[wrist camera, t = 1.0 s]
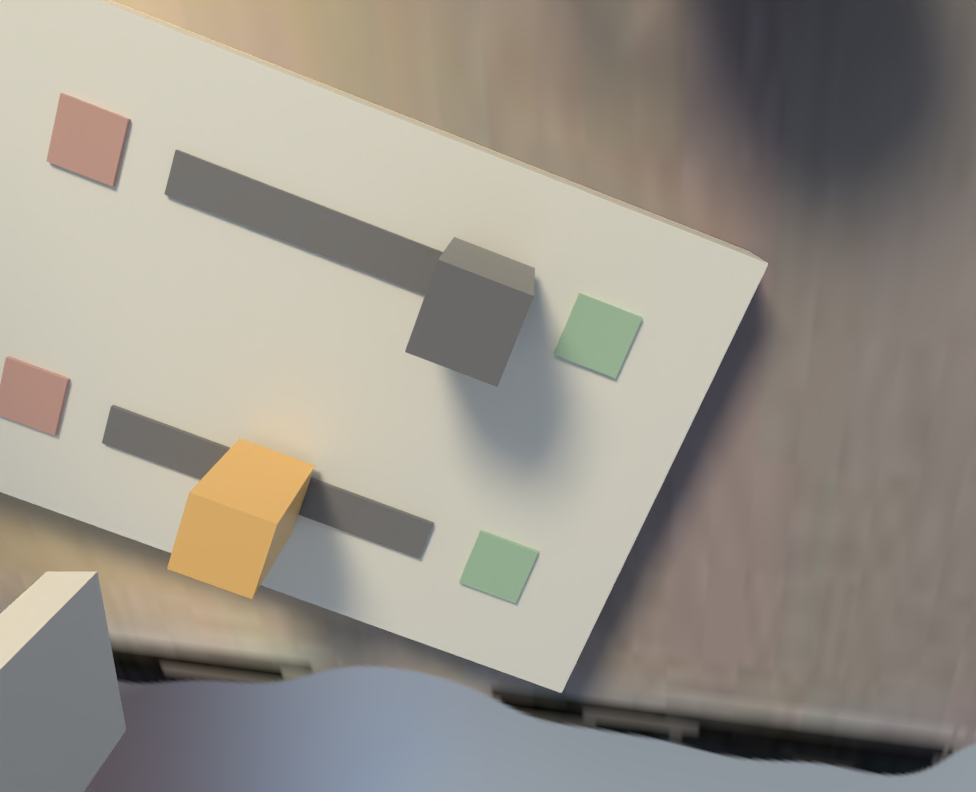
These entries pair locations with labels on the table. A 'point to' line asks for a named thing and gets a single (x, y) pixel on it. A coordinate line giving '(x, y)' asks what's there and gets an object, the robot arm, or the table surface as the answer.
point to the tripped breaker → (240, 518)
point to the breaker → (472, 311)
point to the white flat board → (333, 332)
